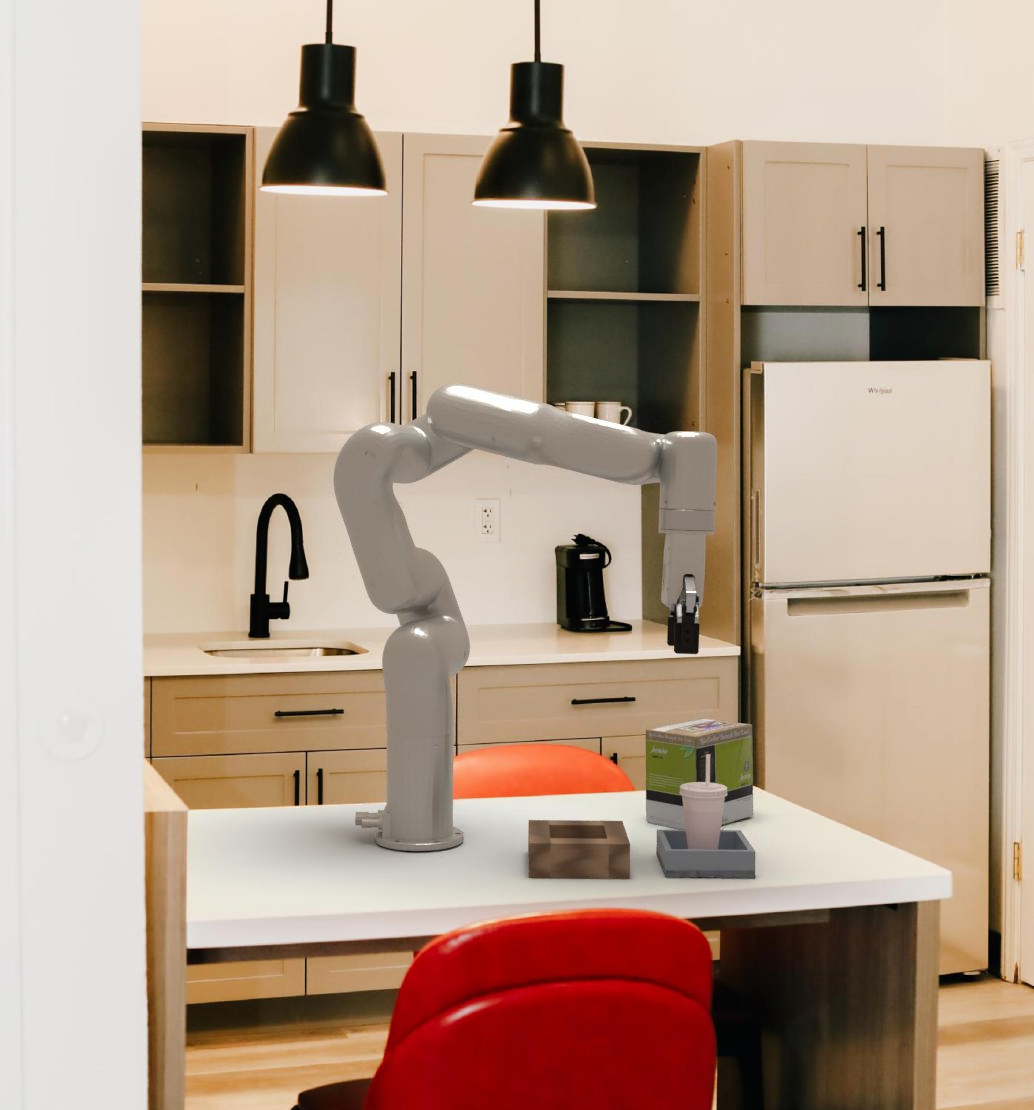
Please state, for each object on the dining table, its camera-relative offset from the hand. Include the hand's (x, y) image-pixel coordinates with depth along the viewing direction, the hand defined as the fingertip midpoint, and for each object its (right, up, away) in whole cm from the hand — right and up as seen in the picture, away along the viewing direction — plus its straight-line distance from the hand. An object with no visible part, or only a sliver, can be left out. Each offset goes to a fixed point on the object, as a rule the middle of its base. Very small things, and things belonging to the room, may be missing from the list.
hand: (682, 649), depth 182 cm
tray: (+3, -29, -2) cm, 29 cm away
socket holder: (-14, -29, -2) cm, 32 cm away
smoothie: (+2, -28, -2) cm, 28 cm away
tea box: (+6, -28, +25) cm, 38 cm away
